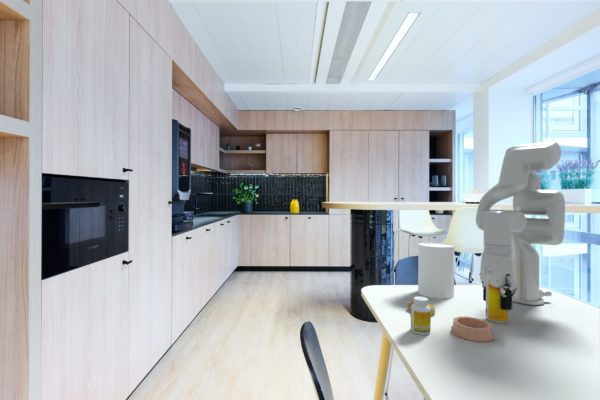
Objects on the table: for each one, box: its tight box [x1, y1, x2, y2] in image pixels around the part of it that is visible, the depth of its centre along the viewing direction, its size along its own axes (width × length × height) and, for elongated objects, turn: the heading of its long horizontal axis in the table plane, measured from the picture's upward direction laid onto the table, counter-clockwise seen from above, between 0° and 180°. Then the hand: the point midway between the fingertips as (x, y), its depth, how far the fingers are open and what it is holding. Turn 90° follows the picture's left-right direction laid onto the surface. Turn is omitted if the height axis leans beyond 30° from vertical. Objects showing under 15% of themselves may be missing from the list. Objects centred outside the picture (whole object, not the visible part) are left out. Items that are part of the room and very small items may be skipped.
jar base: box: [450, 316, 495, 343], centre depth 90 cm, size 11×11×3 cm
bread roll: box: [407, 299, 436, 317], centre depth 107 cm, size 8×9×4 cm
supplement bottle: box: [410, 295, 432, 336], centre depth 91 cm, size 5×5×10 cm
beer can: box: [485, 275, 509, 324], centre depth 100 cm, size 6×6×15 cm
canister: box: [417, 242, 455, 300], centre depth 129 cm, size 14×14×20 cm
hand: (496, 304), depth 100 cm, fingers open, 7 cm apart
